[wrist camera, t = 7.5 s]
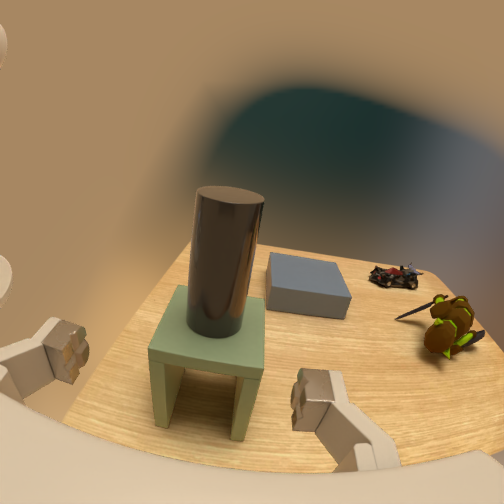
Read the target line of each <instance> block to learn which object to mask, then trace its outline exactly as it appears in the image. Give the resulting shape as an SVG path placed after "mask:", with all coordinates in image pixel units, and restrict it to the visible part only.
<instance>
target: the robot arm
mask: <svg viewBox="0 0 504 504" xmlns="http://www.w3.org/2000/svg"><path fill="white" fill-rule="evenodd" d="M6 53H7V36H6V33H5V30H4V28H3V27H2V26H1V24H0V69H1V67H2V65H3V63H4V60H5V57H6ZM85 336H86V331H85V328H84V327H82V326H79V325H77V324H74V323H70V322H68V321H65V320H61V319H58V318H56V317H51V318H49V319H48V320H47V321H46V323H45V324H44V325H43V326H42V327H41V328H40V329H39V331H37V333H36V334H35V335H34V336H33V337H32V338H31V339H29V338H28V339H24V340H22V341H19V342H16V343H14V344H11V345H8V346H6V347H3V348H0V504H504V466H503V465H502V464H500V463H499V462H498V461H496V460H495V459H494V458H492V457H491V456H490V455H488V454H487V453H485V452H483V451H482V450H473V451H469V452H465V453H461V454H458V455H454V456H450V457H446V458H441V459H437V460H432V461H428V462H423V463H417V464H412V465H406V466H402V465H401V462H400V458H399V455H398V451H397V448H396V445H395V441H394V440H393V439H392V438H391V437H390V436H389V435H388V434H387V433H386V432H384V431H383V430H382V429H381V428H380V427H379V426H378V425H377V424H376V423H375V422H373V421H372V420H371V419H370V418H369V417H368V416H367V415H366V414H365V413H364V412H362V411H361V410H360V409H359V408H358V407H357V406H356V405H355V404H354V403H350V402H349V398H348V394H347V390H346V387H345V383H344V379H343V375H342V372H341V371H336V370H318V369H305V368H301V369H300V370H299V372H298V375H297V379H298V381H297V382H296V383H294V385H293V388H292V393H291V408H292V409H293V410H294V412H293V414H292V416H291V417H292V431H305V432H315V434H316V436H317V437H318V438H319V440H320V441H321V442H322V444H323V445H324V446H325V448H326V449H327V450H328V452H329V453H330V454H331V456H332V457H333V458H334V459H335V461H336V462H337V463H338V466H337V468H336V469H335V470H334V471H333V472H332V473H279V472H263V471H251V470H241V469H232V468H224V467H217V466H211V465H204V464H199V463H193V462H188V461H183V460H178V459H173V458H169V457H164V456H160V455H156V454H152V453H148V452H144V451H141V450H137V449H134V448H130V447H127V446H123V445H120V444H117V443H114V442H111V441H108V440H105V439H102V438H99V437H96V436H94V435H91V434H88V433H85V432H83V431H80V430H78V429H75V428H73V427H70V426H68V425H65V424H63V423H61V422H58V421H56V420H54V419H52V418H50V417H47V416H45V415H43V414H41V413H39V412H37V411H35V410H33V409H31V408H29V407H27V406H26V405H25V403H24V401H23V399H24V398H26V397H27V396H29V395H31V394H32V393H34V392H36V391H37V390H39V389H41V388H42V387H44V386H45V385H47V384H49V383H51V382H52V381H54V380H55V379H58V380H60V381H63V382H66V383H69V384H72V385H73V383H74V382H75V380H76V378H77V377H78V375H79V374H80V373H79V368H81V367H83V366H85V364H86V362H87V360H88V357H89V345H88V343H87V341H86V340H85V339H84V338H85Z"/></svg>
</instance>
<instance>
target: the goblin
mask: <svg viewBox="0 0 504 504" xmlns="http://www.w3.org/2000/svg"><path fill="white" fill-rule="evenodd" d="M447 297H448V295H446V296H443V295H442V294H439V295H436V296H435V297H434V298H433V302H430V303H428V304H425V305H423V306H421V307H419V308H416V309H414V310H412V311H410V312H407V313H405V314H403V315H401V316H399V317H397V318H396V319H400V318H403V317H405V316H408V315H411V314H413V313H416V312H419V311H421V310H424V309H426V308H428V307H431V305H432V304H436V305H434V306H433V307H432V308H430V313H431V316H432V318H433V319H435V318H437V319H436V320H435V322H434V324H433V325H432V326H431V327H429V328H428V330H427V332H426V333H425V338H424V345H425V346H426V348H427V349H428V350H429V351H430V352H431V353H443V354H444V355H445V356H446V357H447V358H448V359H449V360H450V356H451V355H455V354H457V353H459V352H461V351H462V350H463V348H462V347H465V346H469V345H471V344H473V343H475V342H477V341H479V340H480V339H482V338H483V337H484V335H485V330H482V331H478V332H476V331H475V330H470V331H469V329H470V327H471V326H472V324H473V319H474V311H473V310H472V308H471V306H470V305H469V303H468V299H467V298H466V297H465V296H458V297H456V298H453V299H451V300H448V301H444V300H445V298H447ZM396 319H395V320H396ZM467 332H468V333H467ZM466 333H467V334H466ZM465 334H466V335H465ZM463 335H464V336H463ZM460 337H461V338H460ZM456 340H457V341H456ZM454 341H455V342H454Z"/></svg>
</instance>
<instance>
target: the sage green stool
mask: <svg viewBox="0 0 504 504" xmlns="http://www.w3.org/2000/svg"><path fill="white" fill-rule="evenodd" d="M187 292H188V286H184V285H178V286H177V288H176V290H175V292H174V294H173V296H172V298H171V300H170V302H169V304H168V306H167V309H166V311H165V313H164V315H163V317H162V319H161V321H160V323H159V325H158V327H157V329H156V331H155V333H154V335H153V338H152V340H151V342H150V344H149V346H148V359H149V371H150V382H151V393H152V402H153V411H154V419H155V425H156V426H160V427H164V428H168V426H169V423H170V419H171V415H172V412H173V408H174V405H175V401H176V398H177V394H178V391H179V388H180V384H181V381H182V377H183V374H184V370H185V368H190V369H196V370H201V371H207V372H212V373H218V374H224V375H231V376H237V381H236V390H235V399H234V408H233V418H232V427H231V436H230V439H231V440H236V441H244V438H245V434H246V431H247V428H248V424H249V421H250V417H251V414H252V410H253V407H254V403H255V400H256V396H257V393H258V389H259V385H260V382H261V378H262V375H263V371H264V337H265V299H262V298H255V297H249V296H247V300H246V306H245V311H244V317H243V322H242V327H241V329H240V330H239V332H237V333H236V334H235V335H233V336H230V337H227V338H220V339H216V338H208V337H204V336H201V335H199V334H197V333H195V332H194V331H193V330H191V329H190V327H189V326H188V325H187V322H186V308H187Z"/></svg>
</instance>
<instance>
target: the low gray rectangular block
mask: <svg viewBox="0 0 504 504" xmlns="http://www.w3.org/2000/svg"><path fill="white" fill-rule="evenodd" d="M266 299H267V309H268V310H275V311H282V312H289V313H297V314H304V315H312V316H320V317H328V318H336V319H344V318H345V315H346V312H347V310H348V307H349V304H350V301H351V299H352V297H351V294H350V292H349V290H348V288H347V286H346V283H345V281H344V279H343V277H342V275H341V273H340V271H339V269H338V266H337V264H336V263H334V262H328V261H322V260H316V259H310V258H304V257H298V256H292V255H285V254H279V253H273V252H270V256H269V261H268V266H267V271H266Z"/></svg>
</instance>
